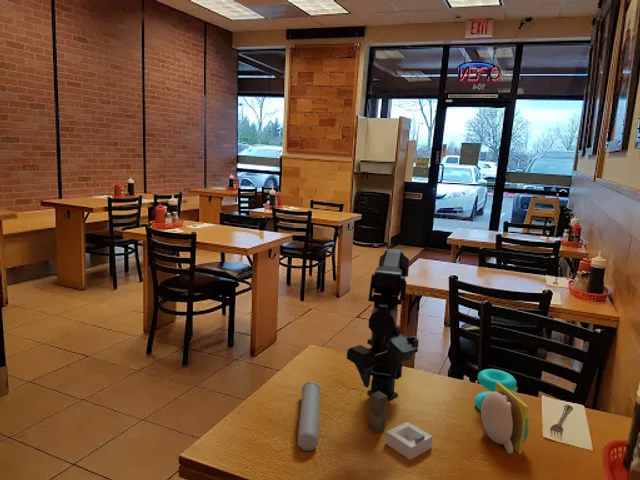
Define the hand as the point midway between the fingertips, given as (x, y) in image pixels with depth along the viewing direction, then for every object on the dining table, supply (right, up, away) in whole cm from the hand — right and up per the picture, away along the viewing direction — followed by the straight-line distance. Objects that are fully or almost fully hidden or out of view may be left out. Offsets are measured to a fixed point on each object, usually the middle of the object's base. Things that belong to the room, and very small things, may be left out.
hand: (379, 381), depth 117 cm
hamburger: (+30, -14, 0) cm, 33 cm away
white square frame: (+6, -14, -4) cm, 16 cm away
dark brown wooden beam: (-1, -12, +2) cm, 12 cm away
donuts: (+33, -12, +15) cm, 38 cm away
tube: (-17, -12, +3) cm, 21 cm away
